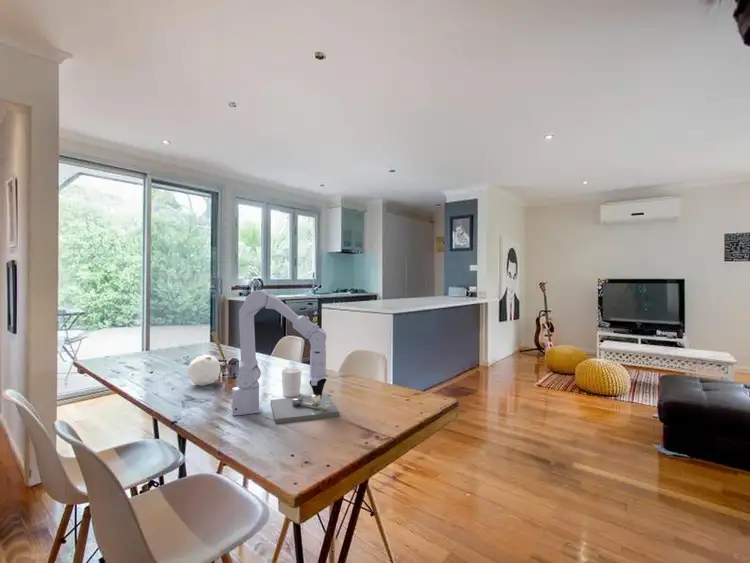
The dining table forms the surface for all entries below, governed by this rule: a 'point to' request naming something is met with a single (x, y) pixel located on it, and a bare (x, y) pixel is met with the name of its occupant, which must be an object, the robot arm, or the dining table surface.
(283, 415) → the dial board
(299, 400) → the peg lever
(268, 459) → the dining table surface
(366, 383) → the dining table surface
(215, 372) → the geodesic sphere
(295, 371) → the white cup
